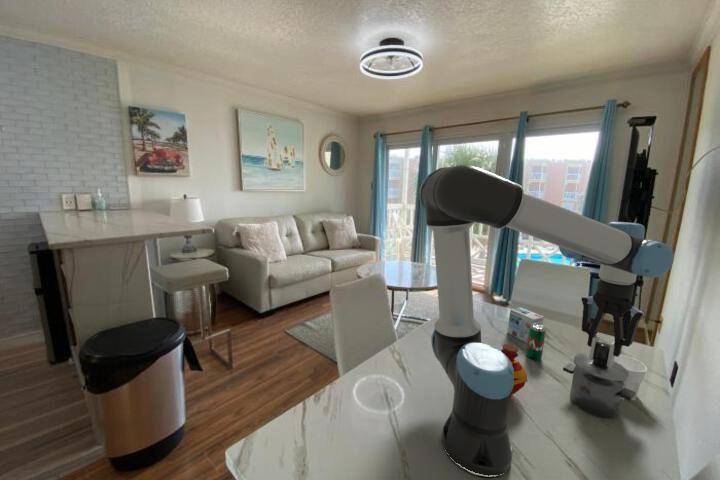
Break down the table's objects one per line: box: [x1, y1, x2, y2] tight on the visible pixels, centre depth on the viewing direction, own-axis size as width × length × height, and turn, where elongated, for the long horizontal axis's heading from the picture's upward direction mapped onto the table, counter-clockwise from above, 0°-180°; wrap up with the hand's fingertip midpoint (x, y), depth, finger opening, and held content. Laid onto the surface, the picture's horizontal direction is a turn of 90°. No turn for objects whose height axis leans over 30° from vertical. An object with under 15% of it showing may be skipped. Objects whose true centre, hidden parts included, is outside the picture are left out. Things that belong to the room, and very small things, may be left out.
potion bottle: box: [500, 343, 528, 401], centre depth 89 cm, size 10×10×15 cm
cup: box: [614, 353, 648, 402], centre depth 92 cm, size 10×10×10 cm
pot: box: [562, 362, 637, 420], centre depth 86 cm, size 11×16×9 cm
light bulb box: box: [506, 307, 545, 344], centre depth 125 cm, size 11×7×11 cm, turn 25°
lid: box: [573, 341, 629, 382], centre depth 85 cm, size 12×12×7 cm
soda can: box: [525, 324, 546, 361], centre depth 110 cm, size 5×5×12 cm
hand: (601, 361), depth 85 cm, fingers closed on lid, 3 cm apart
